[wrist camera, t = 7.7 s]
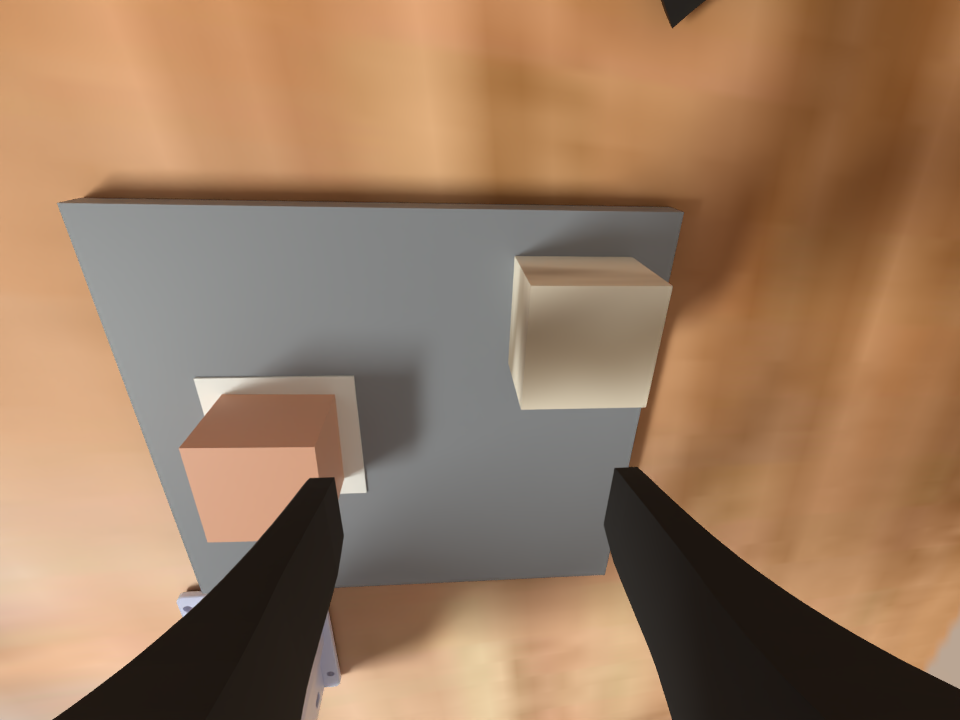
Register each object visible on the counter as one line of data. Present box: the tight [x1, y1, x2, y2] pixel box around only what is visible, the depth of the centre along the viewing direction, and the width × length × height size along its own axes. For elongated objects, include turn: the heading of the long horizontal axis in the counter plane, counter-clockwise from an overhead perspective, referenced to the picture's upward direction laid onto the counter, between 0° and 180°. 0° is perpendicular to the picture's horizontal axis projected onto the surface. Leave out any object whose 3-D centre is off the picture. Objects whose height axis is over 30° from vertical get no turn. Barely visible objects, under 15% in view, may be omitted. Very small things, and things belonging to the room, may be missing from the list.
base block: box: [179, 394, 344, 542], centre depth 19 cm, size 5×5×4 cm
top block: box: [508, 256, 673, 410], centre depth 17 cm, size 5×5×4 cm
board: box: [57, 198, 684, 594], centre depth 22 cm, size 20×22×1 cm
